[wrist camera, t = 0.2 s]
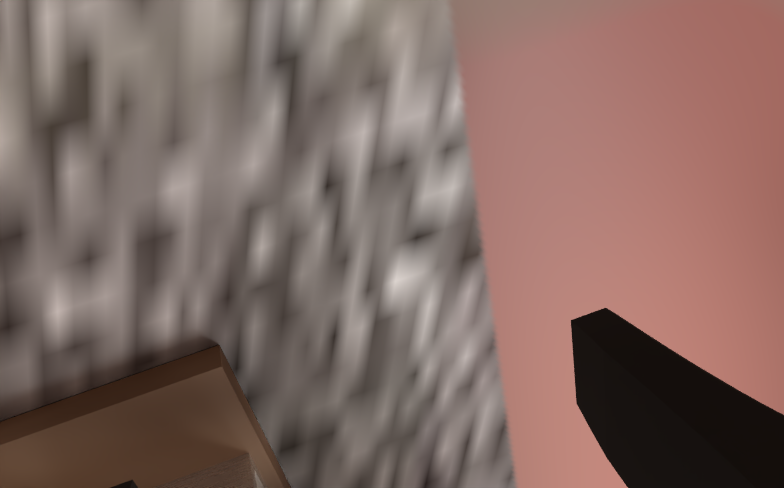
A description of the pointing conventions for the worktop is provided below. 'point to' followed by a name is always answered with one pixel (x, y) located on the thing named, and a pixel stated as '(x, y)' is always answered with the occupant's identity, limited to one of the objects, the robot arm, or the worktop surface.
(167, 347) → the worktop surface
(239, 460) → the white cardboard cube
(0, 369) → the worktop surface
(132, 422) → the walnut board
